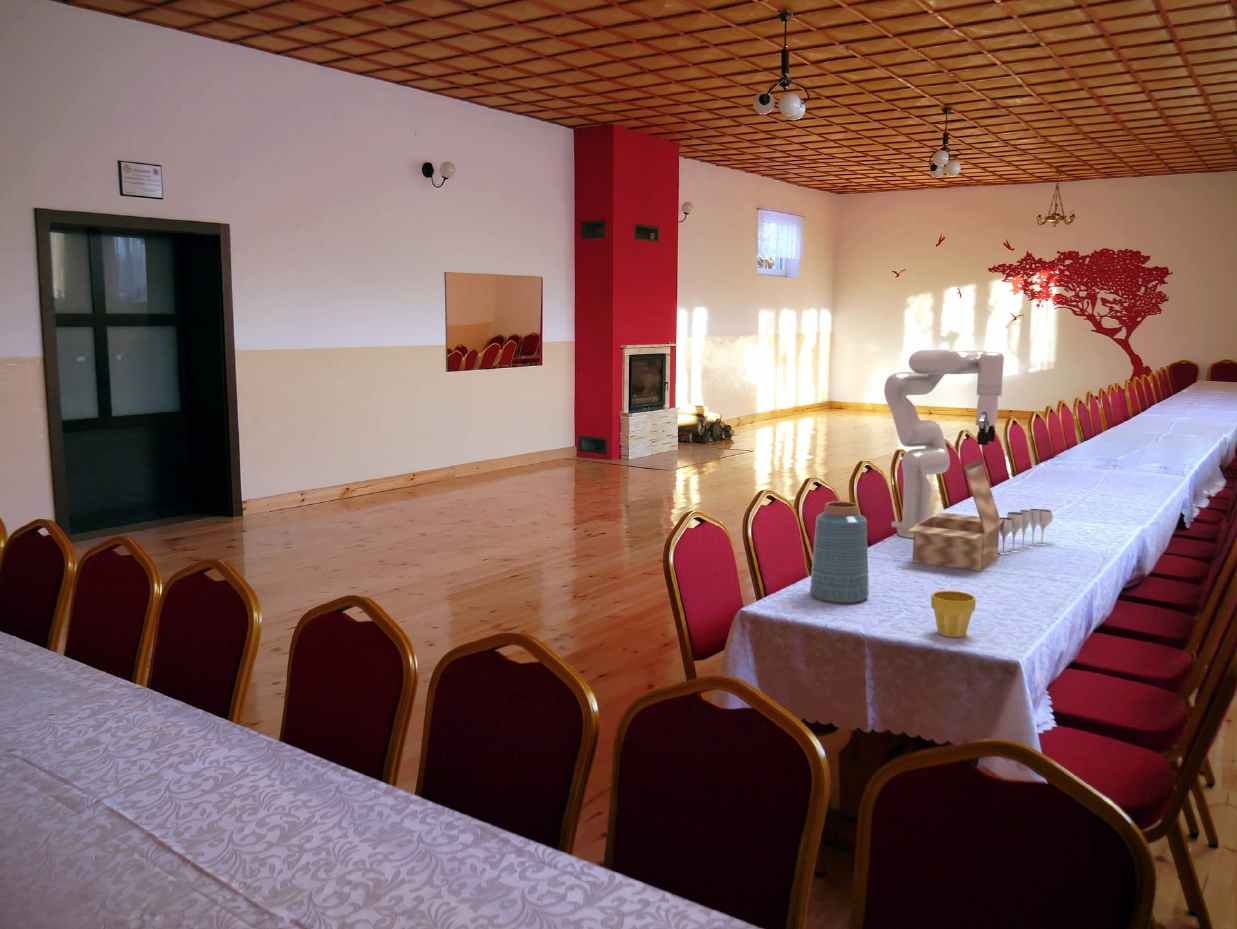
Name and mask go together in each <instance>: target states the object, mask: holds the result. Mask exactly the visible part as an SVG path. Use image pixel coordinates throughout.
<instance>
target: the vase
mask: <svg viewBox="0 0 1237 929" xmlns="http://www.w3.org/2000/svg"><path fill="white" fill-rule="evenodd" d="M859 512H860V510H859V504H857V503H856V502H851V501H842V500H841V501H829V502H826V503H825V505H824V511H823V512H821V513H820V514H818V515H817V516H816V518H815V530H814V531H815V532H814V539H813V540H814V541H813V553H812V555H813V556H812V563H811V566H812V567H811V574H810V578H811V579H810V587H809V592H810V594H811V595H812V596H813V598H815V599H816V600H817V599H818V601H821V602H825V603H826V602H827V603H830V604H831V603H832V604H840V605H841V604H842V605H843V604H844V605H845V604H846V605H847V604H856V603H859V602H862V601H864V600H866V599H867V598H868V597H869V596H870V595H869V594H870V589H869V587H870V586H869V577H870V576H869V564H868V563H869V562H868V561H869V560H868V558H869V557H868V528H867V526H868V524H867V523H868V519H867V517H865V516H863V515H862V514H861V513H859Z"/></svg>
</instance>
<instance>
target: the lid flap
mask: <svg viewBox="0 0 1237 929" xmlns="http://www.w3.org/2000/svg"><path fill="white" fill-rule="evenodd" d="M963 470H964V473H965V475H966V479H967V482H968V485H969V488H970V491H971V496H972V497H973V501H974V503H975V507H976V510H977V513H978V517H980V520H981V523H982V526H983V529H984V533H985V534H986V533H988V532H989V531H991V530H992V529H994V528H995V527H997V526H998V525H1000V524H1001V521H1000V518H1001V517H1000V514H999V511H998V508H997V505H996V502H995V500H994V496H993V494H992V493H993V492H992V490H991V486H990V484H989V481H988V477H987V474H986V470H985V468H984V464H983V461H982V459H978V460H977V461H973V462H971V463H969V464H967V465H964V466H963Z"/></svg>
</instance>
